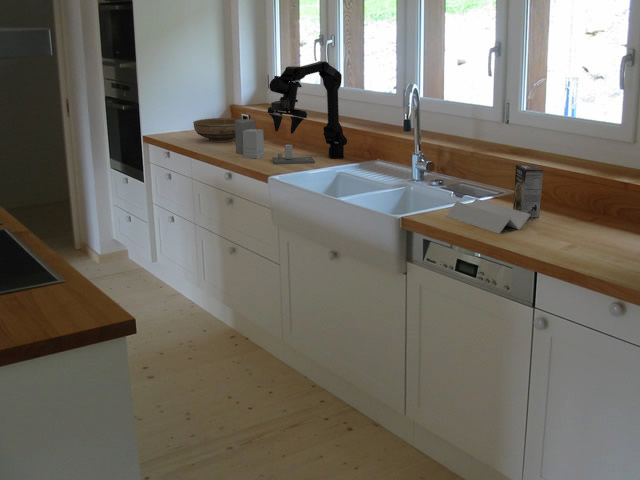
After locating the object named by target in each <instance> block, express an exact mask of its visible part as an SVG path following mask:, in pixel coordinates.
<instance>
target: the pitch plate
mask: <svg viewBox="0 0 640 480" xmlns="http://www.w3.org/2000/svg"><path fill="white" fill-rule="evenodd" d="M271 160H272V162H273V165H296V164H297V165H298V164H299V165H300V164H301V165H302V164H315V162H316V161H315V159H314V158H313V156H306V155H305V156H292V159H286V158H285V156H283V153H277V156H276V157H275V156H273V157H272V159H271Z"/></svg>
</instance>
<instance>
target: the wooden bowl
mask: <svg viewBox="0 0 640 480" xmlns="http://www.w3.org/2000/svg"><path fill="white" fill-rule="evenodd" d="M237 120H245V119H244V118H243V119H242V118H236V117H235V118H232V117H216V118H215V117H214V118H213V117H211V118H204V119H203V118H202V119H196V120H194V121H193V123H192V124H193V129H194V131H195V132H196V134H198V135H199V136H201V137H203V138H206V139H208V142H212V143H228V142H232V141H234V139H236V136H235V121H237Z"/></svg>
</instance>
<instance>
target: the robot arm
mask: <svg viewBox="0 0 640 480" xmlns="http://www.w3.org/2000/svg"><path fill="white" fill-rule="evenodd" d="M284 69H285V70H284V71H283V72H281V75H274V78H272V79H271V81H270V83H269V85H268V87H269V90H270V91H271V92H272V93H275V94H276V93H277V94H280V95H282V96H280V98H279V100H275V101H272V102H271V103H270V106H269V107H268V108H267V114H268V116H270V117H271V118H272V120H273V121H272V122H273V124H274V125H273V127H274V131H275V132H279V129H280V127H281V123H282V120H283V116H284V115H288V116H290V120H291V126H290V134H294V132H295V131H296V129H297V128H298V127H299V125H300V124H301V123H302V122H303V121H304V120H305V119H307V118H308V113H307V111H306V110H301V109H295V108H296V107H295V106H296V103H298V102H299V99H297V96H298V91H299V90H298V89H299V88H302V87H303V86H302V84H301V83H300V81H301V80H303V79H304V78H305V77H306V76H309V75H313V74H317V73H318V75H319V76H320V78H321V79H322V83H323V86H324V88H325V89H326V101H327V103H326V104H327V107H326V108H327V124H326V125H325V126H323V137H324V139H325V143H326V144H327V145H328V147H327V154H328V155H327V156H328V157H329V158H330V159H344V158H345V155H344V154H345V153H344V152H345V151H344V148H345V147H344V146H345V145H348V138H347V137H346V136H345V135H344V132H343V131H344V130H343V126H342V125H341V124H340V119H339V118H340V117H339V114H340V113H339V90H340V87H341V86H342V79H343V78H342V73H341V72H340V71H339V70H337V68H335V67H334V66H332V65H330V64H329V62H327V61H326V60H325V61H322V60H321V61H320V60H319V61H317V62H312V63H309V64H305V65H304V64H303V65H300V66H297V65H295V66H293V65H292V66H290V65H288V66H286V67H285V68H284Z"/></svg>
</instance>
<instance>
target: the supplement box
mask: <svg viewBox="0 0 640 480" xmlns="http://www.w3.org/2000/svg"><path fill="white" fill-rule="evenodd" d="M264 138H265V137H264V129H257V128H256V129H248V130H245V131H243V152H244V154H243V159H245V158H246V159H261V158H263V157H265V141H264V140H265V139H264Z"/></svg>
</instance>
